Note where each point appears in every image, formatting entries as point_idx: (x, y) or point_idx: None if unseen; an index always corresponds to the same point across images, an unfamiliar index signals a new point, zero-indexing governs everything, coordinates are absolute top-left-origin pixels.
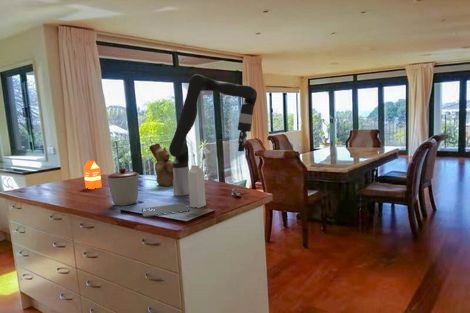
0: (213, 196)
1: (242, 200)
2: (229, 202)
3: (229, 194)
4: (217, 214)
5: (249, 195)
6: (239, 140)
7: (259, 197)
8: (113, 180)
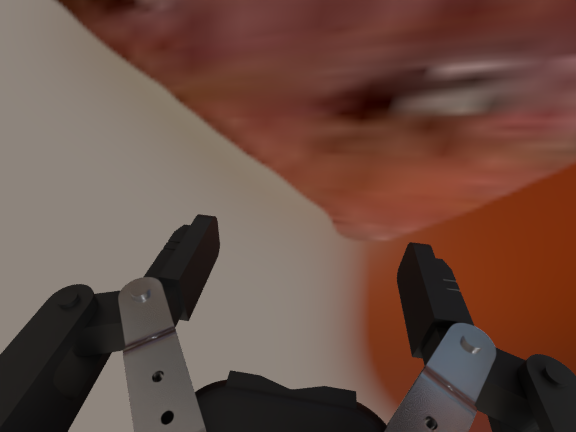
0: None
1: (297, 128)
2: (270, 65)
3: (455, 48)
4: (96, 30)
5: (389, 163)
6: (44, 333)
7: (336, 203)
8: None
